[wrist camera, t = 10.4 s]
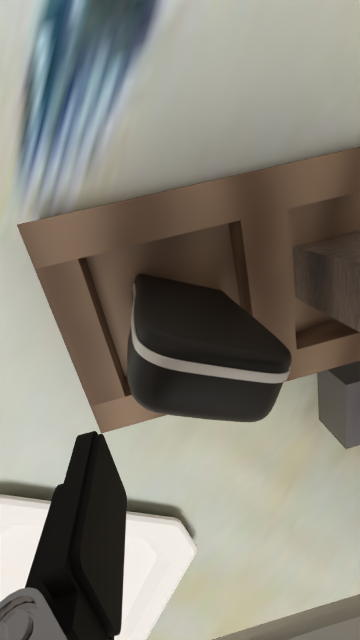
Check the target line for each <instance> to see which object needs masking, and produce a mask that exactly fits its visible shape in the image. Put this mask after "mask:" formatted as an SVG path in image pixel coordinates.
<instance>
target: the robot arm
mask: <svg viewBox="0 0 360 640" xmlns="http://www.w3.org/2000/svg"><path fill="white" fill-rule="evenodd" d="M126 510H127V497H126V492H125V489H124V486H123V484H122V481H121V479H120V476H119V474H118V471H117V468H116V466H115V463H114V461H113V458H112V456H111V453H110V451H109V448H108V445H107V443H106V440H105V438H104V436H103V434H99V435H98V434H97V432H96V431H93V432H89V433H85V434H82V435H78V436H77V438H76V442H75V445H74V449H73V452H72V456H71V459H70V463H69V466H68V470H67V473H66V477H65V481H64V484H60V485H58V486H57V487H56V489H55V492H54V494H53V498H52V501H51V504H50V507H49V511H48V514H47V517H46V520H45V524H44V527H43V530H42V533H41V537H40V540H39V543H38V546H37V550H36V553H35V556H34V559H33V562H32V566H31V569H30V572H29V575H28V579H27V582H26V585H25V588H23V589H19V590H17V591H15V592H13V593H11V594H9V595H8V596H7V597H6V598H4V599H3V600H2V601H1V602H0V640H114V636H117V635H119V634H120V632H121V624H122V601H123V578H124V556H125V533H126ZM213 640H360V594H359V595H355V596H352V597H349V598H346V599H342V600H339V601H336V602H332V603H329V604H326V605H323V606H319V607H316V608H313V609H310V610H306V611H303V612H300V613H297V614H293V615H290V616H287V617H284V618H281V619H277V620H274V621H271V622H268V623H264V624H261V625H258V626H255V627H252V628H248V629H245V630H242V631H239V632H235V633H232V634H229V635H226V636H223V637H219V638H216V639H213Z"/></svg>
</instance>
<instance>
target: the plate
mask: <svg viewBox="0 0 360 640" xmlns="http://www.w3.org/2000/svg"><path fill="white" fill-rule="evenodd" d="M50 504H51V501H47V500H40V499H32V498H25V497H17V496H10V495H0V602H1V601H2V600H3V599H4V598H6V597H7V596H8V595H9V594H11V593H13V592H15V591H17V590H19V589H23V588H25V585H26V582H27V579H28V575H29V572H30V569H31V566H32V562H33V559H34V556H35V553H36V550H37V546H38V543H39V540H40V537H41V533H42V530H43V527H44V524H45V520H46V517H47V514H48V511H49V507H50ZM196 552H197V545H196V544H195V542H194V541H193V539H192V538H191V536H190V534H189V533H188V531H187V530H186V528H185V527H184V525H183V524H182V522H181V521H180V520H178V519H177V518H174V517H167V516H159V515H152V514H144V513H137V512H129V511H126V533H125V556H124V578H123V601H122V624H121V632H120V634H119V635H117V636H114V640H146V639H147V637H148V635H149V634H150V632H151V630H152V628H153V627H154V625H155V623H156V621H157V620H158V618H159V616H160V615H161V613H162V611H163V609H164V608H165V606H166V604H167V602H168V601H169V599H170V597H171V596H172V594H173V592H174V590H175V589H176V587H177V585H178V584H179V582H180V580H181V578H182V577H183V575H184V573H185V571H186V570H187V568H188V566H189V565H190V563H191V561H192V559H193V558H194V556H195V554H196Z"/></svg>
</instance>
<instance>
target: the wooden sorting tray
mask: <svg viewBox="0 0 360 640" xmlns="http://www.w3.org/2000/svg"><path fill="white" fill-rule="evenodd" d="M17 226H18V229H19V231H20V234H21V236H22V238H23V241H24V243H25V246H26V248H27V251H28V253H29V256H30V258H31V261H32V263H33V266H34V268H35V271H36V273H37V276H38V278H39V280H40V283H41V285H42V288H43V290H44V293H45V295H46V298H47V300H48V303H49V305H50V308H51V310H52V313H53V315H54V318H55V320H56V322H57V325H58V327H59V330H60V332H61V335H62V337H63V340H64V342H65V345H66V347H67V350H68V352H69V355H70V357H71V360H72V362H73V364H74V367H75V369H76V372H77V374H78V377H79V379H80V382H81V384H82V387H83V389H84V392H85V394H86V397H87V399H88V401H89V404H90V406H91V409H92V411H93V414H94V416H95V419H96V421H97V424H98V426H99V429H100V431H101V433H104V432H108V431H111V430H115V429H118V428H122V427H126V426H129V425H133V424H136V423H140V422H143V421H147V420H150V419H154V418H157V417H161V416H165V415H166V414H160V413H155V412H152V411H149V410H147V409H145V408H144V407H142V406H141V405H140V404H139V403H137V401H136V400H135V399H134V397H133V396H132V394H131V390H130V387H129V383H128V375H127V347H128V338H129V333H130V328H131V314H132V306H133V305H132V295H133V283H134V282H135V279H136V276H137V275H138V274H145V275H150V276H155V277H160V278H165V279H170V280H175V281H180V282H184V283H189V284H194V285H199V286H203V287H208V288H213V289H217V290H221V291H223V292H224V293H225V294H226V295H228V296H229V297H230V298H231V299H232V300H233V301H234V302H235V303H237V304H238V305H239V306H240V307H242V308H243V309H244V310H245V311H247V312H248V313H249V314H250V315H252V316H253V317H254V318H255V319H256V320H258V321H259V322H260V323H261V324H262V325H264V326H265V327H266V328H267V329H268V330H269V331H270V332H271V333H272V334H274V335H275V336H276V337H277V338H278V339H279V340H280V341H281V342H282V343H283V344H284V345H285V346H286V347H287V348H288V349H289V351H290V353H291V357H292V361H291V364H290V367H291V370H290V373H289V375H288V378H287V380H286V381H289V380H292V379H296V378H300V377H303V376H307V375H310V374H314V373H317V372H321V371H324V370H328V369H332V368H335V367H339V366H342V365H346V364H349V363H353V362H356V361H360V147H358V148H354V149H349V150H345V151H340V152H336V153H332V154H327V155H323V156H318V157H314V158H310V159H305V160H301V161H296V162H292V163H288V164H283V165H279V166H274V167H270V168H265V169H261V170H257V171H252V172H248V173H243V174H239V175H235V176H230V177H226V178H221V179H217V180H213V181H208V182H204V183H199V184H195V185H190V186H186V187H182V188H177V189H173V190H168V191H164V192H160V193H155V194H151V195H146V196H142V197H137V198H133V199H129V200H124V201H120V202H115V203H111V204H107V205H102V206H98V207H93V208H89V209H85V210H80V211H76V212H71V213H67V214H62V215H58V216H54V217H49V218H45V219H40V220H36V221H32V222H27V223H23V224H18V225H17ZM284 382H285V381H284Z"/></svg>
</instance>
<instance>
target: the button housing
mask: <svg viewBox="0 0 360 640" xmlns="http://www.w3.org/2000/svg"><path fill="white" fill-rule="evenodd" d="M318 397H319V420H320V421H321V422H322V423H323V424H324V425H325V427H326V428H327V429H328V430H329V431H330V432H331V433H332V434H333V435H334V437H335V438H336V439H337V440H338V441H339V442H340V443H341V444H342V445H343V447H344V448H345V449H348V448H351V447H354V446H358V445H360V361H356V362H353V363H349V364H346V365H342V366H339V367H335V368H332V369H328V370H324V371H321V372H318Z"/></svg>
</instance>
